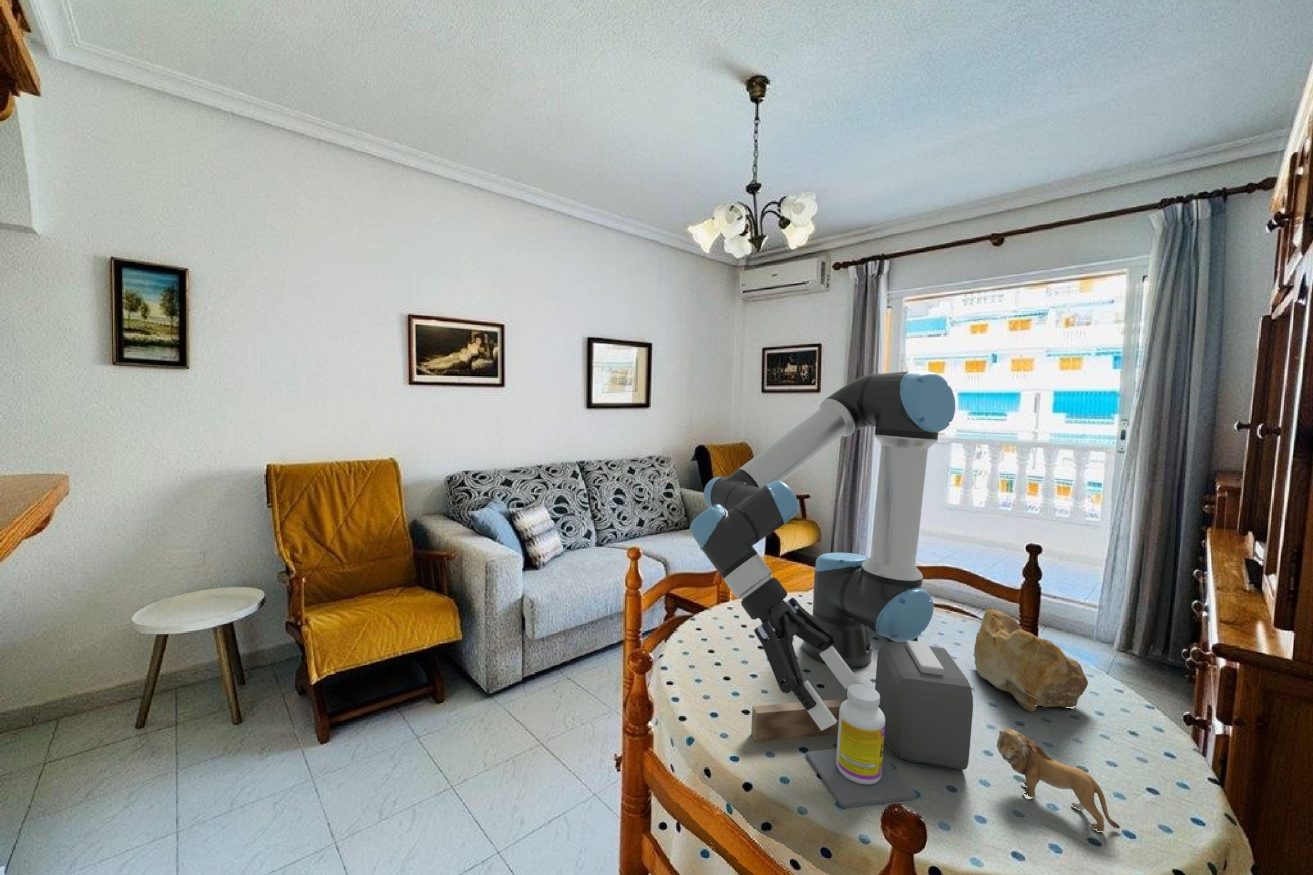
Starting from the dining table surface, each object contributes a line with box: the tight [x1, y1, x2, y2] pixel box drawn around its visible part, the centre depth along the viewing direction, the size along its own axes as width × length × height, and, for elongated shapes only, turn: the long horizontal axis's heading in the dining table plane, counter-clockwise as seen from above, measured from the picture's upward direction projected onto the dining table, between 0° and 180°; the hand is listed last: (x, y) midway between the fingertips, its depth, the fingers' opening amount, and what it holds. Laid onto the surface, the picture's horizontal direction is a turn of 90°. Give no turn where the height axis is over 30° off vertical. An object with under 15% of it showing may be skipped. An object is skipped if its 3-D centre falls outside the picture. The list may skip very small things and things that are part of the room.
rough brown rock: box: [973, 608, 1089, 712], centre depth 105 cm, size 23×17×15 cm
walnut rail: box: [750, 698, 848, 742], centre depth 91 cm, size 20×2×5 cm, turn 101°
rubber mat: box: [805, 748, 918, 809], centre depth 80 cm, size 12×11×1 cm
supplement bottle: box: [836, 683, 885, 785], centre depth 80 cm, size 7×7×13 cm
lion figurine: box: [996, 728, 1121, 832], centre depth 76 cm, size 15×5×9 cm, turn 53°
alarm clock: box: [874, 640, 974, 771], centre depth 90 cm, size 16×11×16 cm
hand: (841, 704), depth 81 cm, fingers open, 13 cm apart
